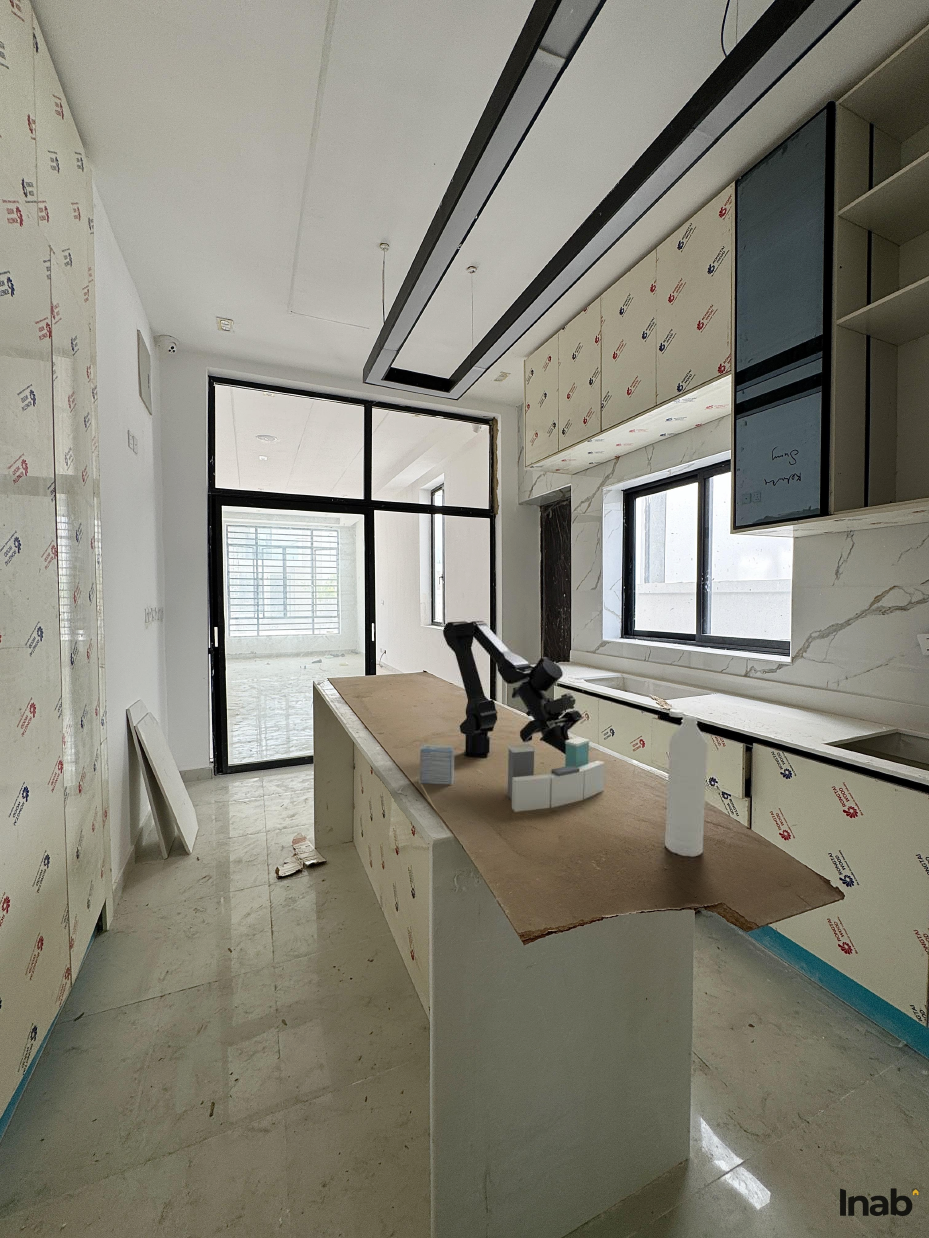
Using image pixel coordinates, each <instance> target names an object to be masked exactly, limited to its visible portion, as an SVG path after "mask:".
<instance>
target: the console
mask: <svg viewBox="0 0 929 1238" xmlns="http://www.w3.org/2000/svg"><path fill="white" fill-rule="evenodd" d="M605 765H606V763H605V762H604V761H601V760H595V761H592V762H590V763H589V762H588V764H587V765H584V766H581V767H579V768H577V767H575V766H573V765H571V766H566V767H565V766H562V767H561V766H560V767H557V768H552V769H551V773H547V774H534V775H533V776H522V777H512V800H511V809H512V810H513V812H515V813H516V812H517V813H518V812H525V811H533V810H534V811H535V810H543V809H550V808H551V809H553V808H556V807H561V806H564V805H567V804H573V803H576V802H580V801H583V800H586V799H588V798H590V797H593V796H595V795H597V794H599V793H602V792H603V791H604V790H605V769H606V768H605V767H606V766H605Z"/></svg>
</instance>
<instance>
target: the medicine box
mask: <svg viewBox="0 0 929 1238" xmlns="http://www.w3.org/2000/svg"><path fill="white" fill-rule="evenodd" d="M419 754H420V755H419V784H420V783H422V784H427V785H428V784H429V785H431V784H432V785H447V786H452V785H453V783H454V779H455V746H454V745H445V744H444V745H441V744H422V746H421V748H420V750H419Z"/></svg>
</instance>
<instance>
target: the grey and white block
mask: <svg viewBox="0 0 929 1238" xmlns="http://www.w3.org/2000/svg"><path fill="white" fill-rule="evenodd" d="M507 748H508V757H507V758H508V759H507V760H508V762H507V763H508V766H507V796H508V798H509V799H510V800H511V801H512V777H522V776H533V775H535V774H534V773H535V771H534V770H535V767H534V766H535V751H536V748H535V747H534V746H533V745H531V744H530V743H524V744H512V745H511V744H510V745H508V746H507Z"/></svg>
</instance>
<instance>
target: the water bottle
mask: <svg viewBox="0 0 929 1238" xmlns="http://www.w3.org/2000/svg"><path fill="white" fill-rule="evenodd" d="M669 716H670V717H674V718H682V720H681V721H680V722H681V724H680V726H678V727H677V728H676V730H675V731H674V732H673V734H672V735H671V736H670V739H669V744H668V745H669V747H668V748H669V749H668V750H669V754H668V773H667V774H668V775H667V776H668V777H667V778H668V779H667V792H666V793H667V794H666V801H667V803H666V815H665V820H666V822H665V835H664V836H665V837H664V844H665V847H666V848H667V849H668V851H670V852H672V853H674V854H677V855H679V856H682V857H691V858H692V857H697V856H700V855H701V854H702V853H703V850H704V824H705V806H706V798H705V797H706V784H707V783H706V782H707V781H706V779H707V766H708V765H707V763H708V762H707V761H708V741H707V740H706V737H704V735H703V733H702V731H701V730H700V728H699V727H698V725H697V724H698V721H697V717H696V716H692V715H684V711H683V710H681V709H672V708H671V709H669Z"/></svg>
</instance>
